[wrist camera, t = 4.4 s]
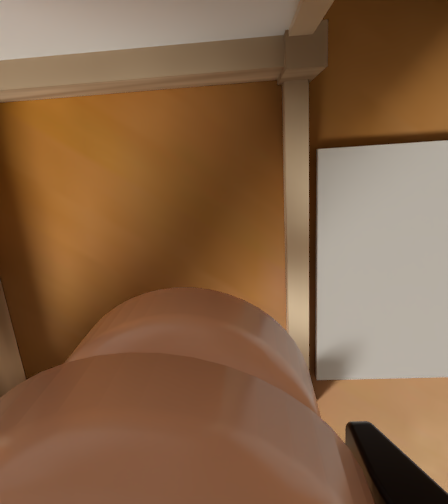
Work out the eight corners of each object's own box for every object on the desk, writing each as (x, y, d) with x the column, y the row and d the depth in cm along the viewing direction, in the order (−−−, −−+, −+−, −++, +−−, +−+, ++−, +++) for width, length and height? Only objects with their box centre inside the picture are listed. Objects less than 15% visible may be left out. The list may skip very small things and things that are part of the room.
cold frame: (309, 409, 21) (327, 481, 16) (15, 414, 22) (-42, 482, 18) (309, 46, 15) (335, 8, 11) (-77, 80, 17) (-192, 57, 12)
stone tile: (526, 370, 19) (532, 375, 19) (315, 375, 20) (316, 380, 20) (573, 131, 16) (581, 131, 15) (316, 148, 17) (317, 149, 16)
